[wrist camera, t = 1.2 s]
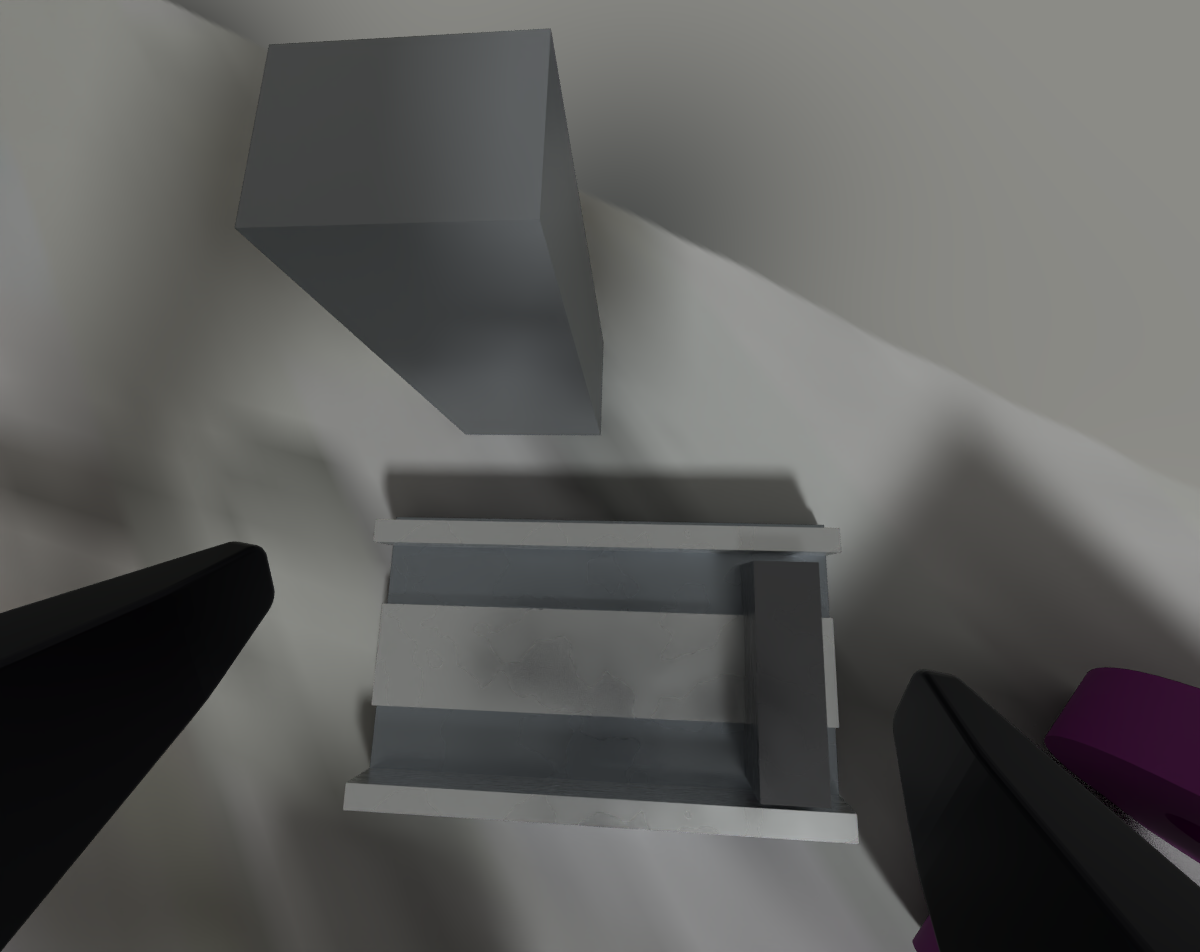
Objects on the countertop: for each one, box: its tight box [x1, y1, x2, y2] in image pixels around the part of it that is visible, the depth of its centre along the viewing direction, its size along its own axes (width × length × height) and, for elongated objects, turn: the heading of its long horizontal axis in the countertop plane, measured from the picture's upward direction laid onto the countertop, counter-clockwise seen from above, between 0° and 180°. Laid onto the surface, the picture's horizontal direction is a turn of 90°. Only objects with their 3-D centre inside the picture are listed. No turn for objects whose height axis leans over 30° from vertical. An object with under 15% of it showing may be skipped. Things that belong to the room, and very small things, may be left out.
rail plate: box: [343, 517, 859, 844], centre depth 19 cm, size 16×10×3 cm, turn 88°
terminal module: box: [235, 29, 603, 435], centre depth 17 cm, size 5×6×13 cm
